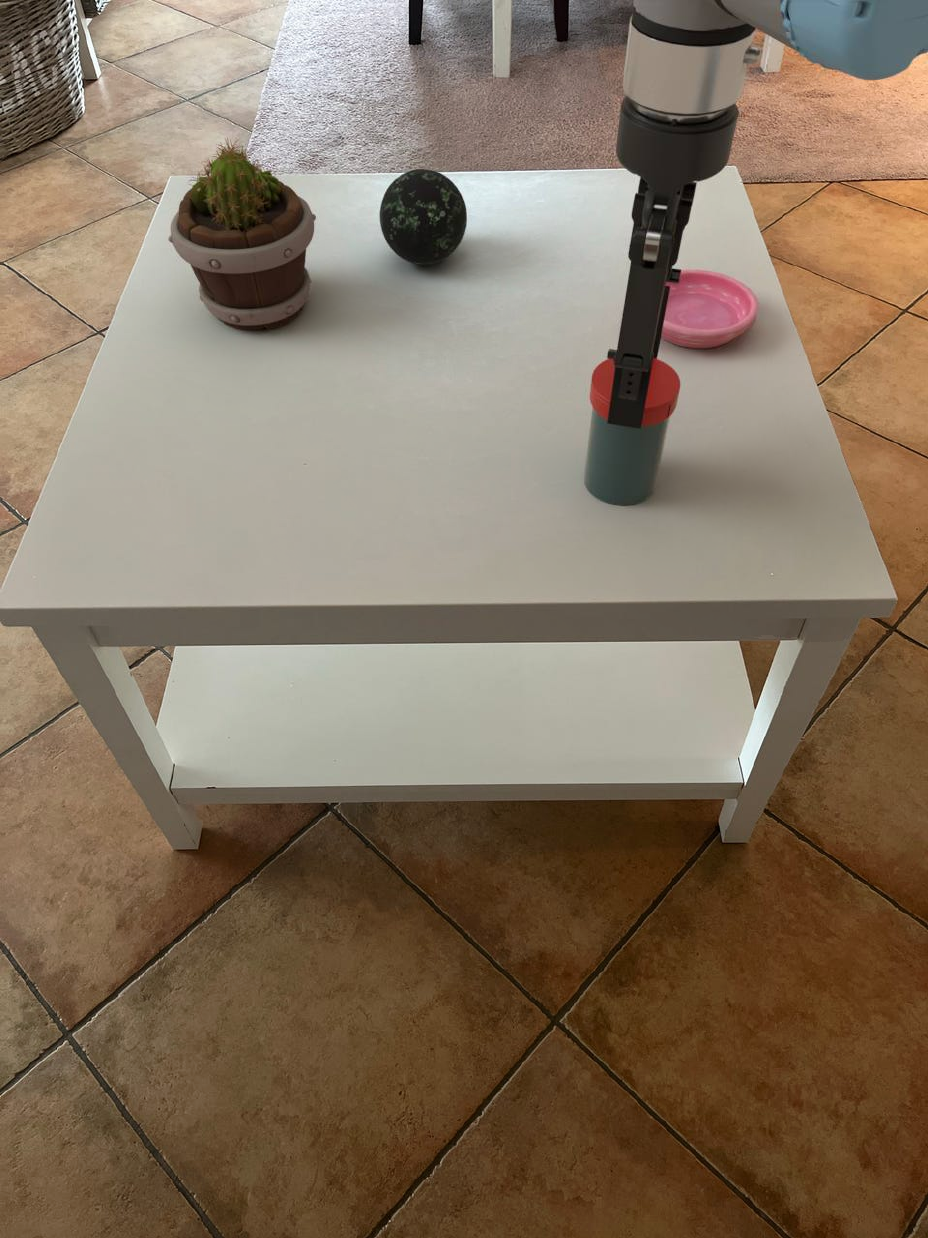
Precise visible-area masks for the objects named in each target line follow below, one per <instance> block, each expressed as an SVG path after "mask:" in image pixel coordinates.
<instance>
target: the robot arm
mask: <svg viewBox="0 0 928 1238" xmlns="http://www.w3.org/2000/svg"><path fill="white" fill-rule="evenodd" d="M632 4H633V5H632V6H633V8H632V14H631V16H630V18H629V26H628V34H627V43H626V52H625V59H624V67H623V68H624V69H623V76H622V90H623V92H624V94H625V97H624V98H623V99H622V100H621V103H620V109H619V110H620V111H619V119H618V128H617V134H616V145H615V155H616V158H617V160H618V162H619V163H620V164H621V166H622V167H623V168H624V169H625V170H626V171H628V172H629V173H631V174H633V175H637V176H638V177H639V181H638V182H639V183H638V188H637V192H635V194H634V199H633V204H632V209H631V219H632V221H633V226H632V230H631V236H630V242H629V248H628V253H627V254H628V256H627V257H628V260H629V261H630V266H629V272H628V279H627V284H626V291H625V298H624V303H623V310H622V317H621V321H620V329H619V333H618V334H619V335H618V340H617V347H616V349H611V348H609V349H608V350H607V355H606V359H614V361H613V362H614V365H615V371H614V378H613V385H612V392H611V399H610V407H609V414H608V421H607V423H608V424H614V425H620V426H626V427H632V428H638V429H641V425H642V420H643V415H644V409H645V403H646V398H647V392H648V387H649V381H650V376H651V370H652V365H653V359H654V358H656V359H658V355H659V349H660V346H661V345H660V344H661V340H662V337H661V335H662V329H663V324H664V318H665V313H666V307H667V302H668V296H669V291H670V286H665V285H666V282H669V283H676V284H679V279H680V274H681V270H682V269H680V268H673V267H674V266H675V265H676V264H677V262H678V259H679V254H680V250H681V245H682V239H683V233H684V231H685V229H686V227H687V225H688V224H689V222H690V218H691V213H692V208H693V204H694V200H695V195H696V190H697V182H698V183H699V182H703V181H706V180H709V179H711V178H712V177H715V176H716V175H718V174H719V173H720V172H722V171H723V169H724V168H725V167H726V166H727V164H728V162H729V161H730V160H729V159H730V156H731V151H732V148H733V147H732V146H733V141H734V138H735V134H736V133H735V132H736V128H737V122H738V118H739V114H740V113H739V111H740V110H739V107H738V106H737V104H736V103H738V101H739V100H740V99H741V98H742V94H743V90H744V86H745V81H746V76H747V71H748V65H754V64H758V63H759V62H760V61H761V59H762V58H761V57H762V47H761V46H760V45H758V44H752V43H753V40H754V39H755V31H756V29H757V30H758V31H760V32H762V33H764V34H765V35H767V36H769V37H770V38H772V39H774V40H776V41H778V42H779V43H781V44H783V45H785V46H787V47H788V48H790V49H791V50H794V51H795V52H796V53H798V54H799V56H801V57H803V58H805V59H807V61H808V62H810V63H811V64H818V65H819V66H821V67H822V68H824V69H827V70H833V71H837V72H841V73H843V74H845V75H849V76H851V77H853V78H856V79H859V80H864V81H878V80H885V79H888V78H891V77H892V78H893V77H894V76H897V75H898V74H901V73H902V72H904V71H906V70H908V68H909V67H910V66H911V64H912V63H913V61H914V60H915V59H916V58H917V57H919V56H921V55H924V54H927V53H928V0H633V3H632Z"/></svg>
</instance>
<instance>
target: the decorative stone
mask: <svg viewBox="0 0 928 1238" xmlns="http://www.w3.org/2000/svg"><path fill="white" fill-rule="evenodd" d="M467 222H468V213H467V205H466V202H465V199H464V196H463V195H462V193H461V191H460V190H459V188H458V187H457V185H456V184H455V183H454V182H453V181H452V180H451V179H450V178H449V177H447V176H446V175H445V174H443V173H441V172H439V171H435V170H433V169H427V168H415V169H412V170H409V171H407V172H404V173H402V174H401V175H400V176H398V177H397V178H396V179H394V180H393V181H392V182H391V183H390V184H389V186H388V187H387V188H386V190H385V192H384V194H383V197H382V199H381V203H380V208H379V225H380V229H381V233H382V235H383V239H384V240H385V242H386V243H387V246H389V248H390V249H391V250H392V252H394V254H395V255H397V256H398V257H400V259H403V260H405V262H409V263H412V264H417V265H424V266H425V265H426V266H427V265H428V266H429V265H433V264H436V263H440V262H442V261H444V260H445V259H447V258H448V257H449V256H451V255H452V254H453V253H454V252H455V251H456V250H457V248H458V247H459V246H460V244H461V243H462V242H463V241H462V240H463V239H464V236H465V233H466V229H467V224H468V223H467Z"/></svg>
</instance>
